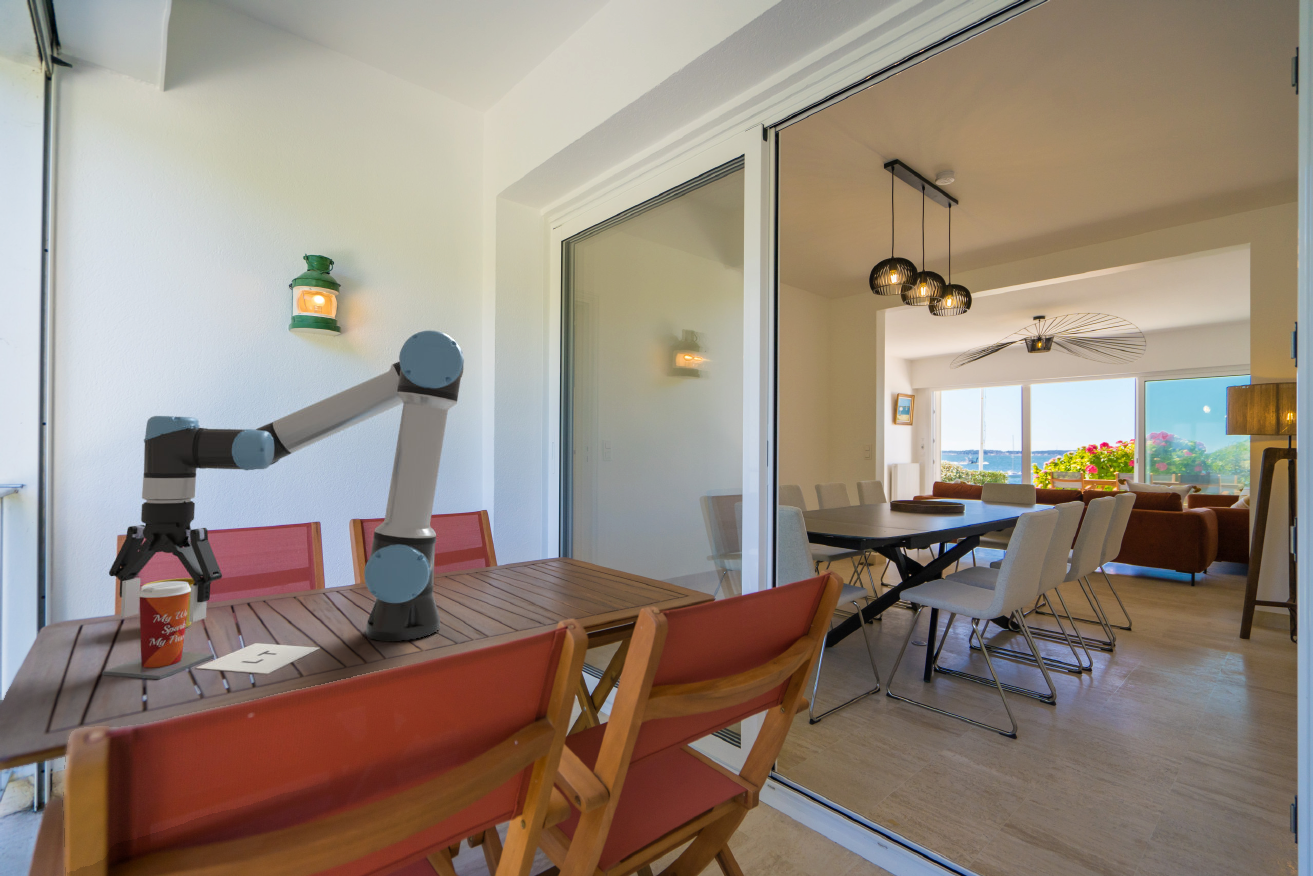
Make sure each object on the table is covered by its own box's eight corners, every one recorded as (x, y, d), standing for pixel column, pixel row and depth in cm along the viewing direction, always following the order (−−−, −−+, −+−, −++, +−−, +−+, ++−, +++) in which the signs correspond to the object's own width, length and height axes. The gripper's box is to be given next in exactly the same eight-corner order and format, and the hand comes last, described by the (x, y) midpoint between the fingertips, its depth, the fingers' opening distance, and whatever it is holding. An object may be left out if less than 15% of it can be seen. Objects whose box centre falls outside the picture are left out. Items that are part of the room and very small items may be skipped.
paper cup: (157, 672, 104) (161, 591, 105) (122, 667, 106) (126, 587, 106) (199, 657, 112) (203, 582, 112) (166, 653, 114) (170, 579, 114)
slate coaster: (213, 657, 114) (213, 654, 114) (160, 679, 103) (160, 675, 103) (161, 653, 115) (161, 650, 115) (102, 674, 104) (102, 671, 104)
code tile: (319, 648, 121) (319, 647, 121) (267, 674, 107) (267, 673, 107) (255, 644, 122) (255, 643, 122) (195, 668, 108) (195, 667, 108)
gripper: (248, 501, 112) (243, 616, 112) (127, 496, 115) (122, 608, 114) (214, 505, 105) (208, 627, 104) (86, 499, 107) (80, 619, 107)
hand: (163, 617), depth 109 cm, fingers open, 13 cm apart
